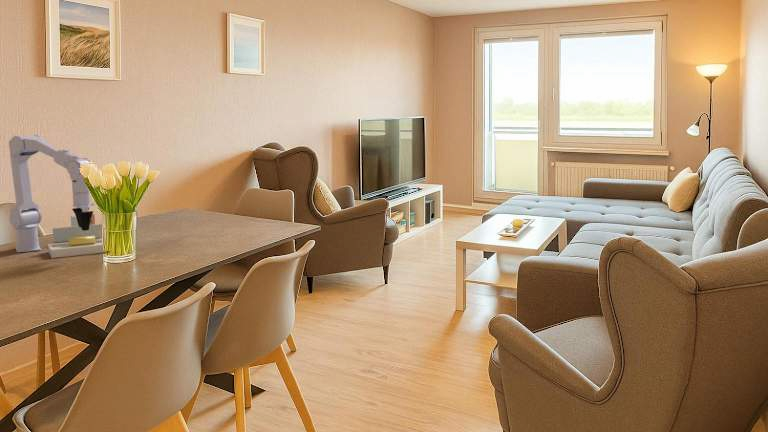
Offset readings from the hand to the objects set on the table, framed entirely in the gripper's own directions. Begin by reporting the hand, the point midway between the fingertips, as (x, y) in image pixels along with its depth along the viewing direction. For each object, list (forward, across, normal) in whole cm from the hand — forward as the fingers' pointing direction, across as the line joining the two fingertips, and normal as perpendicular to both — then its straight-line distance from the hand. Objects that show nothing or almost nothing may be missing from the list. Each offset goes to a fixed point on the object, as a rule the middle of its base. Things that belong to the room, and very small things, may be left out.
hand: (83, 228), depth 234 cm
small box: (+11, +31, -4) cm, 33 cm away
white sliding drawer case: (+10, +9, +1) cm, 14 cm away
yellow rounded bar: (+6, +7, 0) cm, 9 cm away
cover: (+4, +13, +1) cm, 13 cm away
